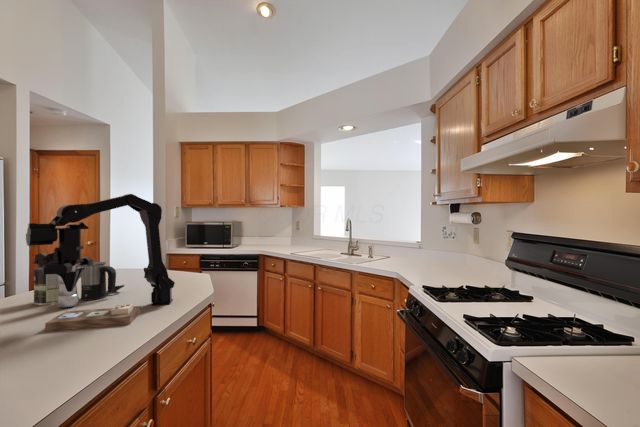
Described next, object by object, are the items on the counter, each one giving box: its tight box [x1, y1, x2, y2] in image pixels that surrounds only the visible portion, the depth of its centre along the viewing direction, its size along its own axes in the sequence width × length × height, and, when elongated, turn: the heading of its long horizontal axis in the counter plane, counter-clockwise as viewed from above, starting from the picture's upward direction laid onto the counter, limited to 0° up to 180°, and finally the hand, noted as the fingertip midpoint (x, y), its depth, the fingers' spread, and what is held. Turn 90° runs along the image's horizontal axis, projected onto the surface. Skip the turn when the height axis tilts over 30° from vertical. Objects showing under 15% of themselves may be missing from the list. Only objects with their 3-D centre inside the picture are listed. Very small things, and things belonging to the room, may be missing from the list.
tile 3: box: [111, 303, 134, 315], centre depth 106 cm, size 5×5×2 cm
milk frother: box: [79, 261, 125, 301], centre depth 139 cm, size 14×16×15 cm
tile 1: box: [85, 311, 109, 317], centre depth 105 cm, size 5×5×2 cm
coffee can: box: [32, 266, 59, 306], centre depth 129 cm, size 10×10×14 cm
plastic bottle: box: [56, 275, 80, 309], centre depth 121 cm, size 6×7×20 cm
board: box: [44, 305, 142, 332], centre depth 105 cm, size 23×12×2 cm, turn 105°
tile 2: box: [57, 312, 83, 319], centre depth 103 cm, size 5×5×2 cm
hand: (69, 291), depth 103 cm, fingers closed
